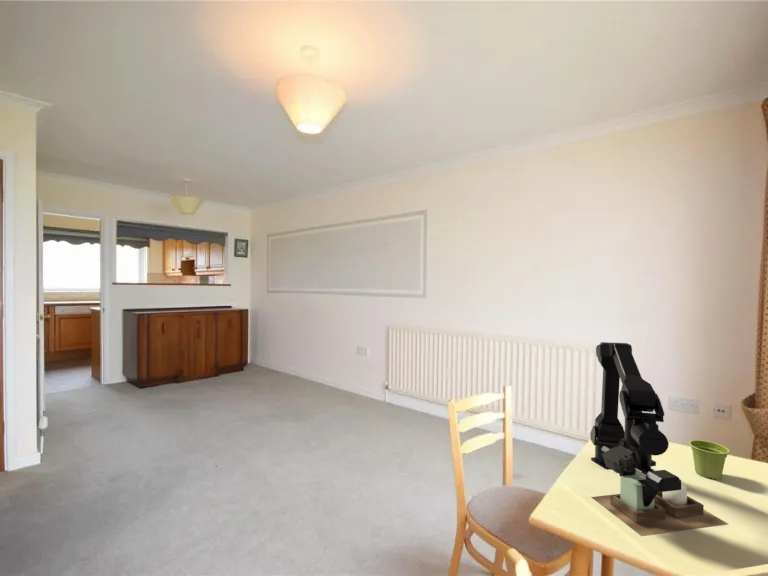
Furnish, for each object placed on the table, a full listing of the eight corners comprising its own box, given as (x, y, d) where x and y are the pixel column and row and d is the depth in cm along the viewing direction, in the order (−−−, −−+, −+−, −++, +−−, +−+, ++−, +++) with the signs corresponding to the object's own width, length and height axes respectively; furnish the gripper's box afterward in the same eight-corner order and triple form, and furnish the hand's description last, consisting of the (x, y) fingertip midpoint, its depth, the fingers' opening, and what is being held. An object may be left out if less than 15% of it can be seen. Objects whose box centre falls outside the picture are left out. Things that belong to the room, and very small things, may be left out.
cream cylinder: (657, 502, 101) (657, 479, 100) (673, 500, 102) (673, 478, 101) (675, 514, 96) (675, 490, 96) (692, 512, 97) (692, 488, 96)
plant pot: (737, 480, 114) (737, 450, 114) (714, 484, 112) (714, 454, 111) (703, 465, 123) (703, 438, 123) (681, 469, 121) (681, 441, 120)
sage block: (637, 497, 99) (637, 474, 99) (654, 508, 95) (654, 484, 94) (620, 499, 99) (620, 476, 98) (636, 511, 94) (636, 486, 94)
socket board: (591, 500, 103) (591, 487, 103) (667, 491, 108) (667, 479, 108) (641, 540, 88) (641, 524, 87) (728, 528, 92) (728, 513, 92)
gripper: (583, 426, 104) (582, 483, 104) (641, 457, 86) (640, 527, 86) (619, 423, 106) (618, 480, 106) (684, 453, 88) (682, 521, 88)
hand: (637, 500), depth 97 cm, fingers closed on sage block, 5 cm apart
